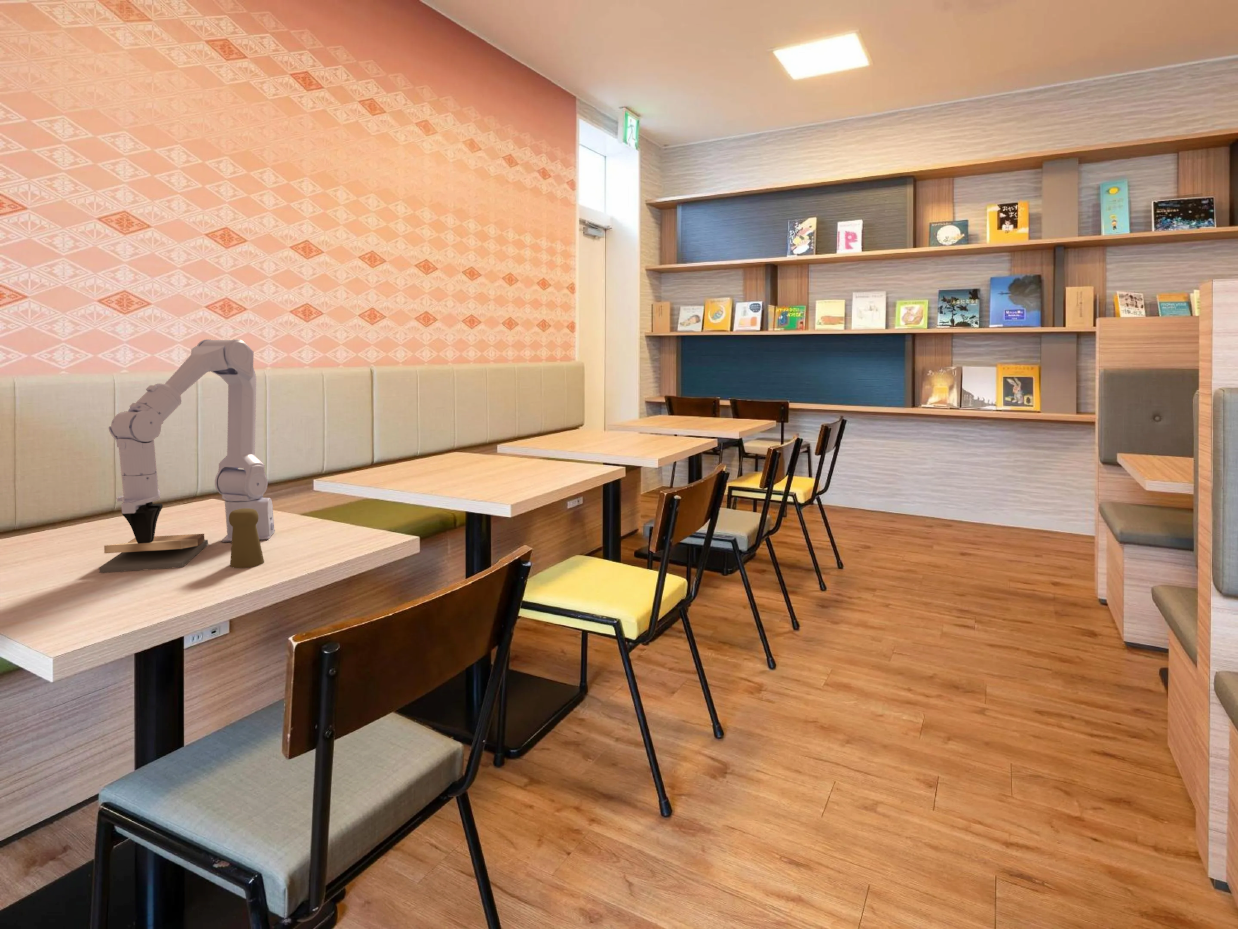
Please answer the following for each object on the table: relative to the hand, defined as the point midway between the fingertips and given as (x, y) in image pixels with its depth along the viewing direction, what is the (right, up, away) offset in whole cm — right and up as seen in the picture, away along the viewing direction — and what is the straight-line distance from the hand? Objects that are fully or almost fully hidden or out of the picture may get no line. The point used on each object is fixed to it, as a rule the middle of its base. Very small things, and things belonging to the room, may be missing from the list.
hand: (145, 542), depth 141 cm
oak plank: (-1, -2, +4) cm, 4 cm away
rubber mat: (-1, -4, +6) cm, 7 cm away
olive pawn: (+19, -5, +2) cm, 19 cm away
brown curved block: (-3, -3, +12) cm, 13 cm away
